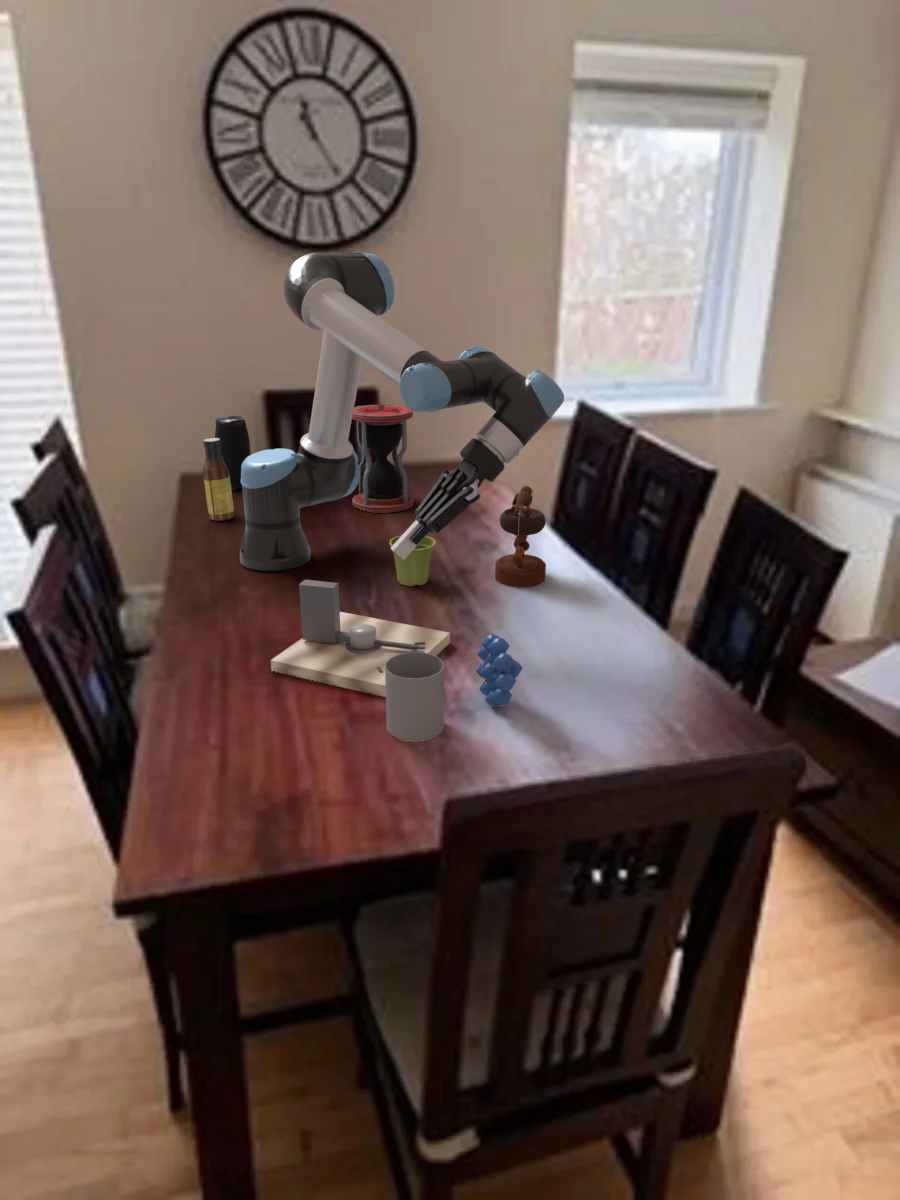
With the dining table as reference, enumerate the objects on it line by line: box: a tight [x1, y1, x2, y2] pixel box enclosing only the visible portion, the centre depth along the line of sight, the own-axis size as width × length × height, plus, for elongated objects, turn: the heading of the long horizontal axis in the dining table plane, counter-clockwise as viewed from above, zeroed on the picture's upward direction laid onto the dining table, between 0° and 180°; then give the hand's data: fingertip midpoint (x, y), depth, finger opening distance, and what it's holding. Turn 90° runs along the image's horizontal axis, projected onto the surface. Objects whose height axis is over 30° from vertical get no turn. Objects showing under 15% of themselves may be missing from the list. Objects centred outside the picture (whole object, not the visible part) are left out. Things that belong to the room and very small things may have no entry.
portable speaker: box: [214, 415, 252, 492], centre depth 244 cm, size 9×9×20 cm
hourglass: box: [351, 404, 415, 514], centre depth 228 cm, size 16×16×25 cm
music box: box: [494, 485, 547, 588], centre depth 181 cm, size 15×11×20 cm
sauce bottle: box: [202, 437, 235, 522], centre depth 217 cm, size 7×6×20 cm
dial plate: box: [270, 611, 451, 698], centre depth 148 cm, size 22×22×2 cm
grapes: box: [475, 633, 524, 709], centre depth 131 cm, size 12×7×12 cm, turn 16°
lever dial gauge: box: [298, 579, 418, 650], centre depth 146 cm, size 20×4×10 cm, turn 75°
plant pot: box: [388, 534, 437, 587], centre depth 180 cm, size 9×9×9 cm
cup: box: [385, 652, 445, 741], centre depth 126 cm, size 8×8×10 cm
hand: (397, 554), depth 150 cm, fingers closed
